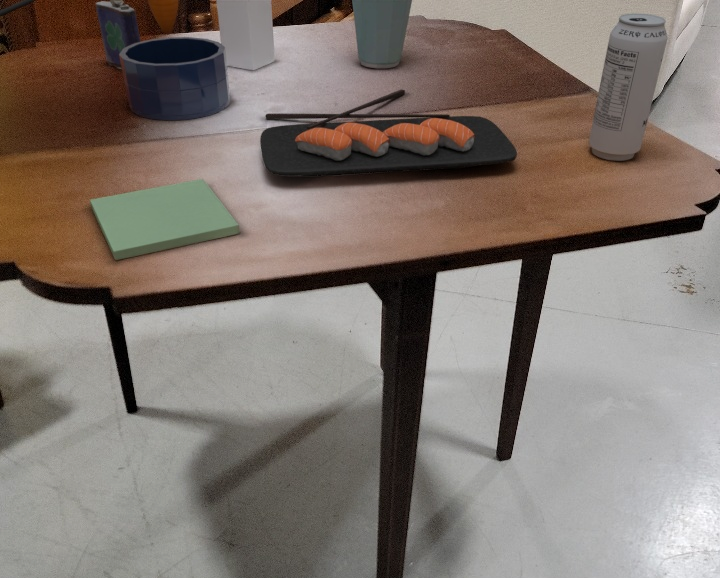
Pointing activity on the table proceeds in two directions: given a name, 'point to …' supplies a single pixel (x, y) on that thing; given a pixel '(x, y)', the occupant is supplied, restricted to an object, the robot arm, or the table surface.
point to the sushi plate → (381, 143)
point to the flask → (117, 28)
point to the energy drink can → (627, 85)
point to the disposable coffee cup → (380, 31)
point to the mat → (162, 218)
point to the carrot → (164, 13)
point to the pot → (175, 78)
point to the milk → (246, 32)
